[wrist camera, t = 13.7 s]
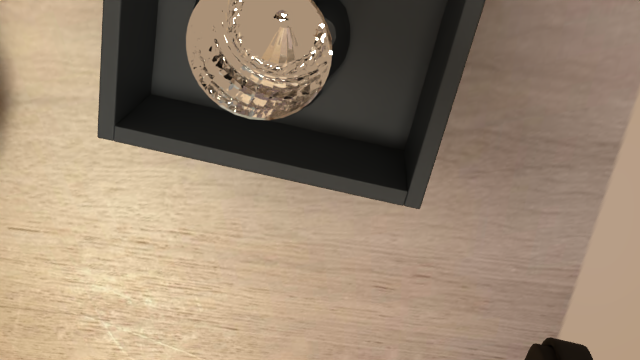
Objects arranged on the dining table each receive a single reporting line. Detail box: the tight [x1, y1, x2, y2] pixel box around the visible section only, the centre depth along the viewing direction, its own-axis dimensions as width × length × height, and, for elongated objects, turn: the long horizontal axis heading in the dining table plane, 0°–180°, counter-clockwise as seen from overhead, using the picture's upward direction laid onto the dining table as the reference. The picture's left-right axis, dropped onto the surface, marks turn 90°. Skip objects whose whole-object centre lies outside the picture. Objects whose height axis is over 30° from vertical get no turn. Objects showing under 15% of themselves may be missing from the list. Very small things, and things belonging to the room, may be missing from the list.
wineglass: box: [186, 0, 355, 120], centre depth 24 cm, size 6×6×12 cm
